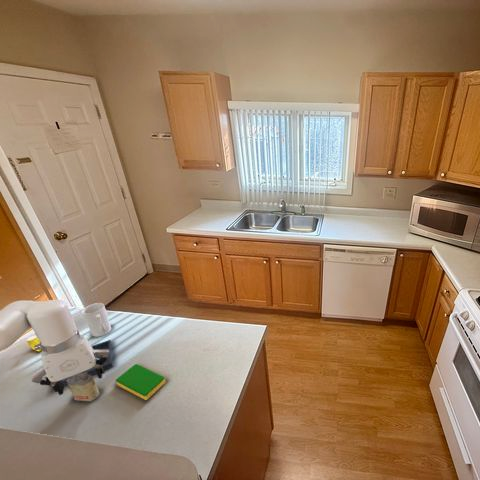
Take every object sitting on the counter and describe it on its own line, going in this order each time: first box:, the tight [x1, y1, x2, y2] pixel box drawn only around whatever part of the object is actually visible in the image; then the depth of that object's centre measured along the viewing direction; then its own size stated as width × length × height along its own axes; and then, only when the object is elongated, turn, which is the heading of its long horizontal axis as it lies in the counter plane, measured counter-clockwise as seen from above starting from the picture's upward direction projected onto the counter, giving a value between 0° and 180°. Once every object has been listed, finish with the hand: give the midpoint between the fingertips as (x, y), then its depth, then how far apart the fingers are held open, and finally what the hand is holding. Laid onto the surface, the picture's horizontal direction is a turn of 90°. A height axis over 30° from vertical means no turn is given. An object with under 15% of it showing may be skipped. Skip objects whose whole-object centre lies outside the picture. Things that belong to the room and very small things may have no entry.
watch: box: [26, 334, 43, 353], centre depth 94 cm, size 6×3×6 cm, turn 73°
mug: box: [81, 302, 112, 338], centre depth 102 cm, size 10×7×12 cm, turn 52°
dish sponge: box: [115, 363, 166, 401], centre depth 85 cm, size 7×14×2 cm, turn 69°
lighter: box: [66, 372, 101, 402], centre depth 79 cm, size 7×4×10 cm, turn 88°
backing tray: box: [51, 339, 114, 391], centre depth 91 cm, size 15×13×2 cm
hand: (82, 382), depth 79 cm, fingers open, 8 cm apart
